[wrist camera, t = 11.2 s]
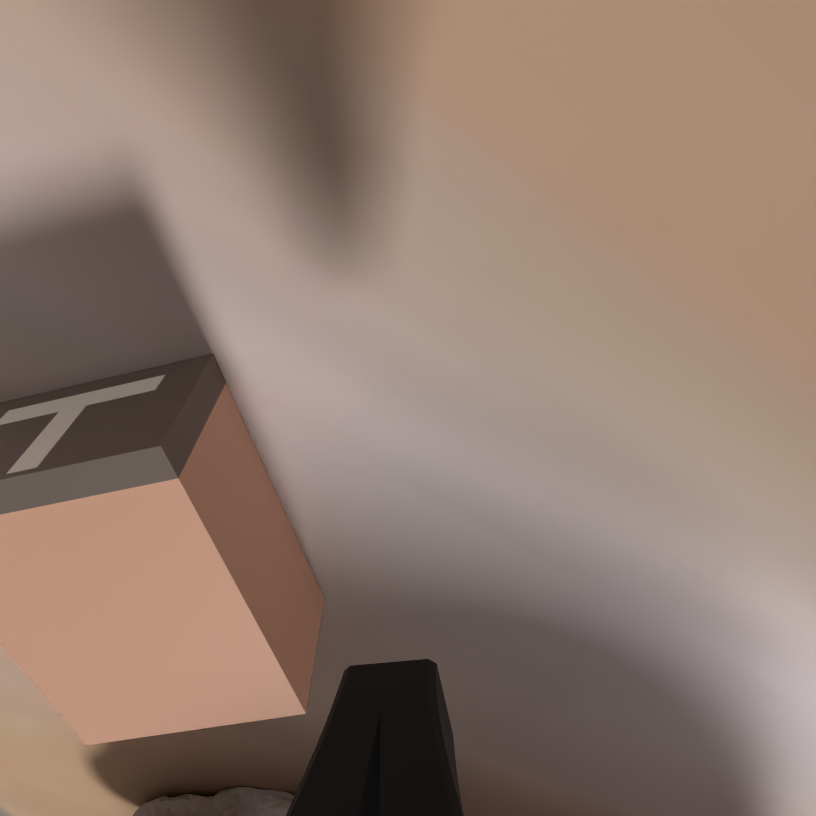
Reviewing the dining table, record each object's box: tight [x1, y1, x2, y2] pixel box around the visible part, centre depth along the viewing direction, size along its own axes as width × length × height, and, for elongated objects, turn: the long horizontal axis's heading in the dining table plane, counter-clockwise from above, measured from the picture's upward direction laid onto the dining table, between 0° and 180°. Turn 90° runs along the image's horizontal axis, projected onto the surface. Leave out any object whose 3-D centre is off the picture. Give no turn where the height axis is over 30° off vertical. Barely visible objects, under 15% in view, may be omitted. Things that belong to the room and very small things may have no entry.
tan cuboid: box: [0, 354, 325, 745], centre depth 15 cm, size 3×5×7 cm
